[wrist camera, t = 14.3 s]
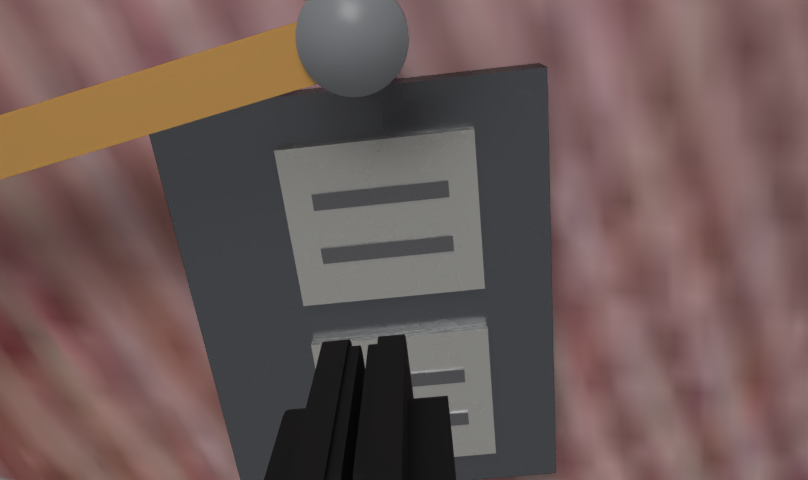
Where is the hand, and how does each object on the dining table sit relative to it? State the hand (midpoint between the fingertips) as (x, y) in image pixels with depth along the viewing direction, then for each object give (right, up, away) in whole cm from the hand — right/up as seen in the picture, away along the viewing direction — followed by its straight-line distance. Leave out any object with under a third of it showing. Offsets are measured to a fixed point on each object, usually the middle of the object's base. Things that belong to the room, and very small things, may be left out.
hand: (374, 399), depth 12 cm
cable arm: (-11, +8, +10) cm, 17 cm away
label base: (-1, +2, +16) cm, 16 cm away
